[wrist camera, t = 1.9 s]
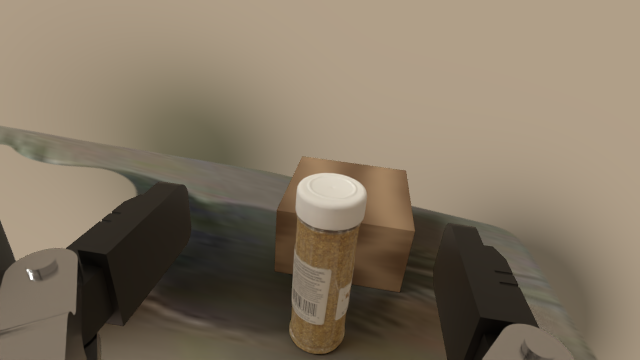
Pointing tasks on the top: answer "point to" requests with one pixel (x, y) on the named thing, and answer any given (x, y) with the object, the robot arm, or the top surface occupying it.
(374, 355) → the top surface
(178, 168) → the top surface
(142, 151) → the top surface
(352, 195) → the sprinkles bottle
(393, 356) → the top surface
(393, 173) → the block
